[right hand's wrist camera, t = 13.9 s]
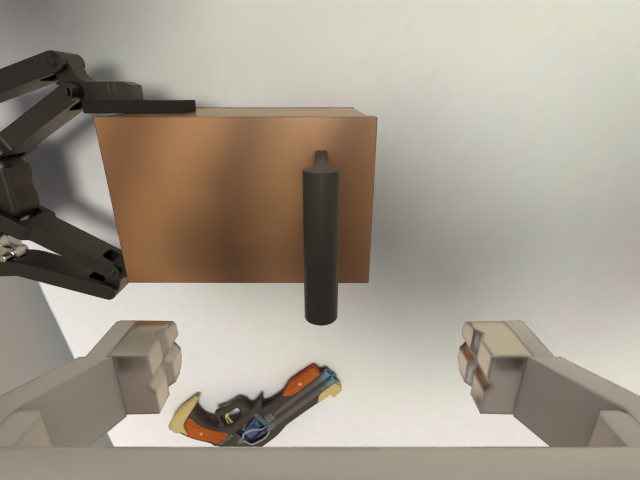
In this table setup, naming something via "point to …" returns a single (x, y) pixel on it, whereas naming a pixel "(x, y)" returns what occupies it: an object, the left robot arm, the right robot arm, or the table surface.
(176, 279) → the lid
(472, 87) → the table surface
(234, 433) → the toy gun
